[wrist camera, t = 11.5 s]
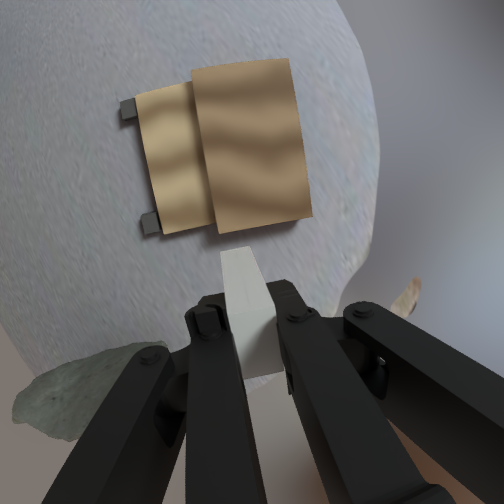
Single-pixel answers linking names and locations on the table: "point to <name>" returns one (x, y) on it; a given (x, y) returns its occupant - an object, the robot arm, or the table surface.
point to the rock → (72, 392)
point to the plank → (176, 157)
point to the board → (252, 143)
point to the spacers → (152, 218)
